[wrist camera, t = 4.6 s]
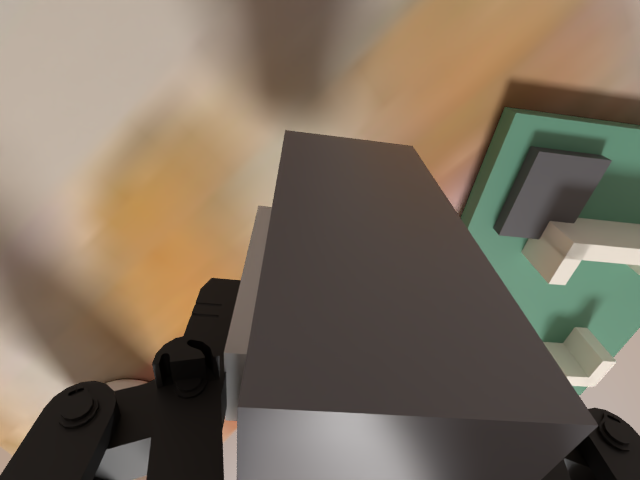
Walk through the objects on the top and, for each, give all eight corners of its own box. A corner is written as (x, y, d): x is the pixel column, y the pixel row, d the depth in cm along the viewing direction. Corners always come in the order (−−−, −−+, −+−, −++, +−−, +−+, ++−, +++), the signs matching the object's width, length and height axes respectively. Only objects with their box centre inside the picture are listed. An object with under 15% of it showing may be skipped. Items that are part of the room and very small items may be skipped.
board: (504, 106, 19) (550, 131, 15) (771, 143, 20) (868, 172, 17) (398, 373, 31) (410, 421, 27) (571, 383, 32) (604, 429, 29)
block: (285, 130, 12) (236, 407, 4) (412, 145, 13) (599, 425, 5) (270, 314, 17) (236, 605, 9) (362, 321, 18) (407, 605, 10)
